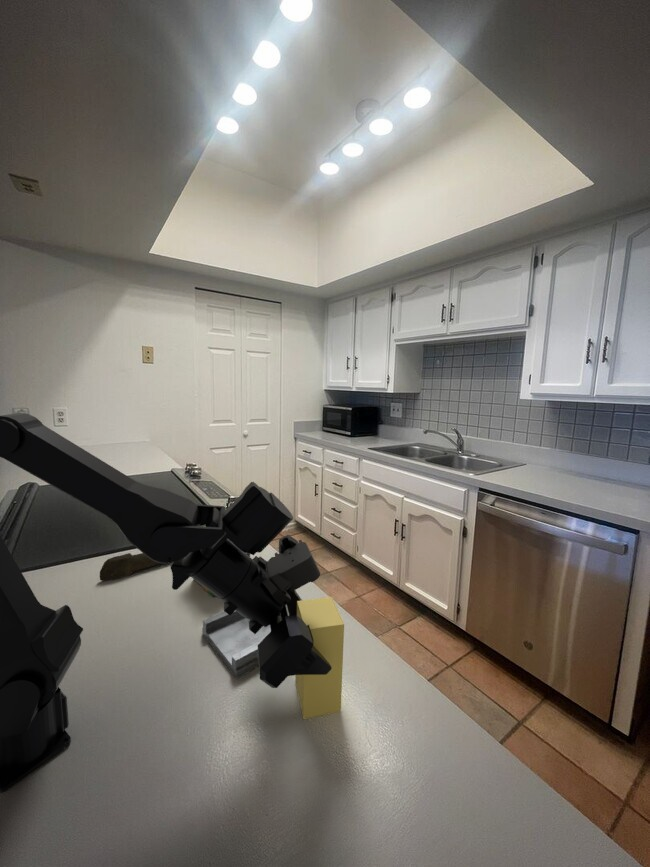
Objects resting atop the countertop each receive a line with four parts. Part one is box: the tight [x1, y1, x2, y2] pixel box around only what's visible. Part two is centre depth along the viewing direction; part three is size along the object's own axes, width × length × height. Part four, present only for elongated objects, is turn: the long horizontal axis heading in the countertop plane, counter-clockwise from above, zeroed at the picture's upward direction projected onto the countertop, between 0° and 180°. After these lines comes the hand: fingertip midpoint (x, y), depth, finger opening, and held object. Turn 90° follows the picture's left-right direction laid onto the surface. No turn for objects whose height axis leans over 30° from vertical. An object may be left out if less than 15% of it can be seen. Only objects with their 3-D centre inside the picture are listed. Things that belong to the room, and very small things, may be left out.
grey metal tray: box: [201, 598, 303, 679], centre depth 61 cm, size 14×12×5 cm
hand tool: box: [99, 552, 162, 581], centre depth 82 cm, size 19×4×5 cm, turn 129°
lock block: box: [295, 596, 345, 720], centre depth 49 cm, size 5×6×12 cm
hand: (320, 644), depth 49 cm, fingers open, 9 cm apart
